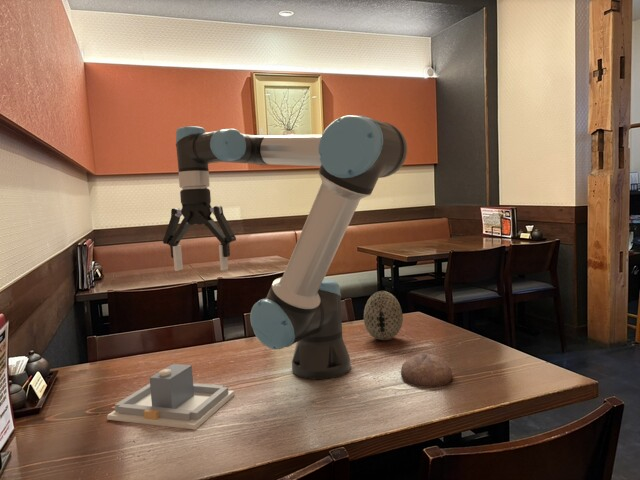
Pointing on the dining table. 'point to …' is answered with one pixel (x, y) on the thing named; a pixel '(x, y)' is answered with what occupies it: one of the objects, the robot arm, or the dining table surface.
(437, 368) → the brown dome
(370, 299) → the decorative egg
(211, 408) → the board
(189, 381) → the block
